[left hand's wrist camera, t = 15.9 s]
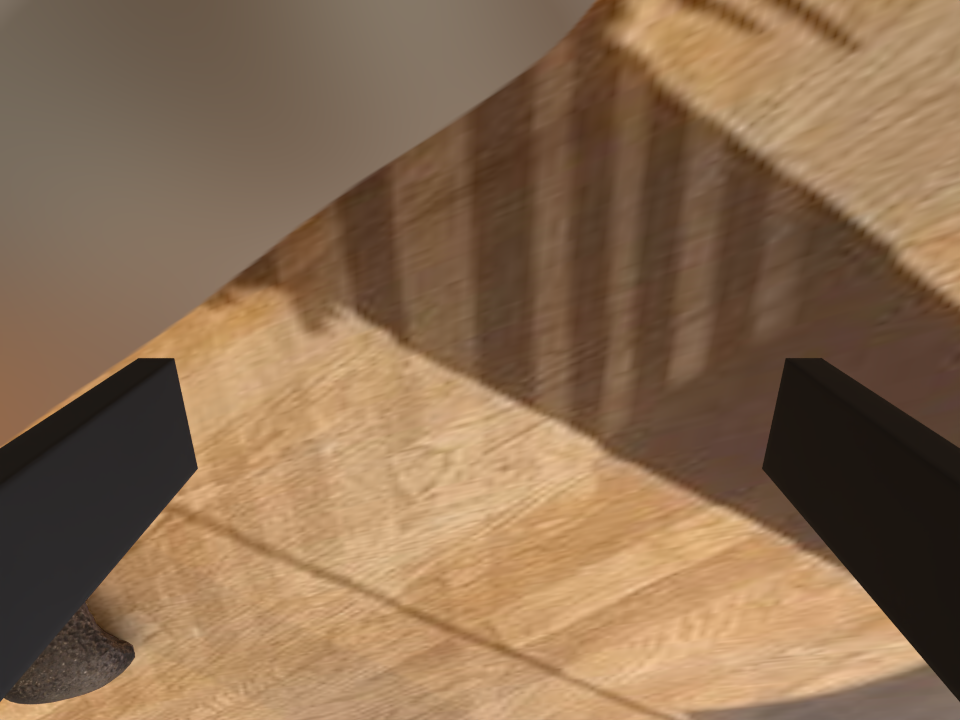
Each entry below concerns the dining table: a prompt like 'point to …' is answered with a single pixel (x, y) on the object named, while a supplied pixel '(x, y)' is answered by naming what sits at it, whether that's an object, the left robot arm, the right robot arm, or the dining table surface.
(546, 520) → the dining table surface
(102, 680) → the stone
